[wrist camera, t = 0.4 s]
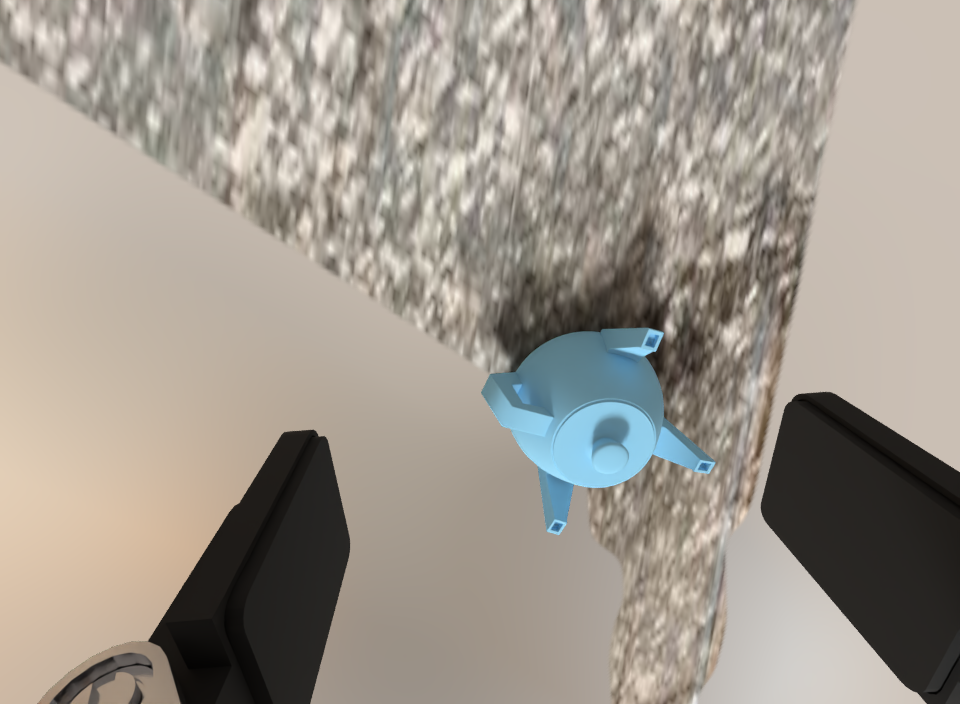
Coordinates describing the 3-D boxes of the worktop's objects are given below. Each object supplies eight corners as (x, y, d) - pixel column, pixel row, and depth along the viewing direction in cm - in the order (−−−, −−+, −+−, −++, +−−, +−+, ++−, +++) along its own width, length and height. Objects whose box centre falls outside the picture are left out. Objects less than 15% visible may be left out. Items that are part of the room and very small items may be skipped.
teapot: (628, 287, 40) (685, 330, 30) (674, 418, 46) (735, 490, 36) (472, 359, 42) (477, 421, 32) (535, 476, 47) (556, 560, 38)
